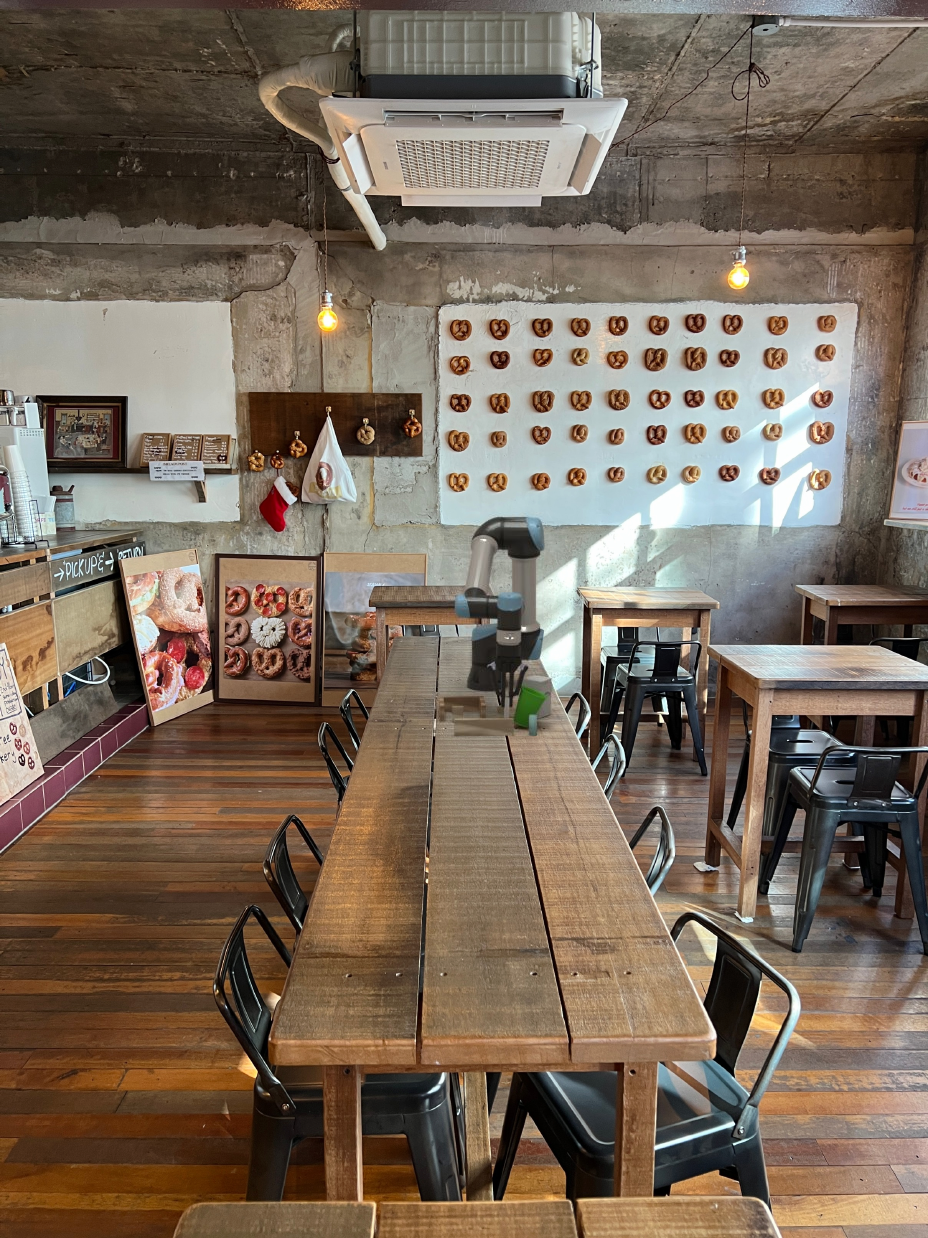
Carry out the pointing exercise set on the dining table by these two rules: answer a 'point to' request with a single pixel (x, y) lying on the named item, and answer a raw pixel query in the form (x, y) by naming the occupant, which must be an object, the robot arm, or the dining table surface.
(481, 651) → the robot arm
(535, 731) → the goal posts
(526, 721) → the cup
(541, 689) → the supplement box
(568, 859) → the dining table surface
